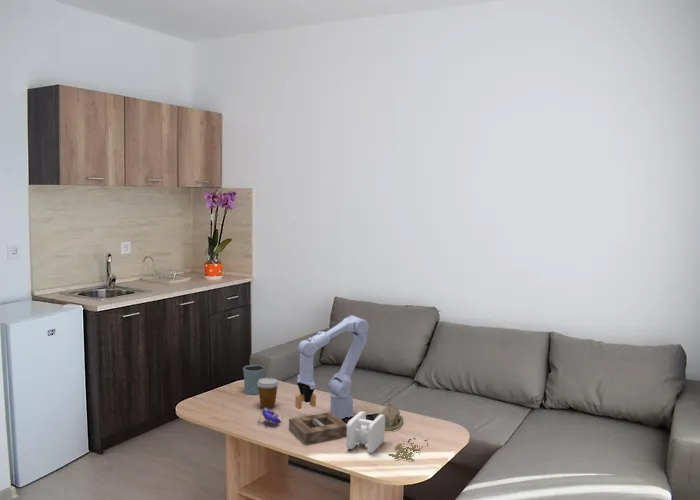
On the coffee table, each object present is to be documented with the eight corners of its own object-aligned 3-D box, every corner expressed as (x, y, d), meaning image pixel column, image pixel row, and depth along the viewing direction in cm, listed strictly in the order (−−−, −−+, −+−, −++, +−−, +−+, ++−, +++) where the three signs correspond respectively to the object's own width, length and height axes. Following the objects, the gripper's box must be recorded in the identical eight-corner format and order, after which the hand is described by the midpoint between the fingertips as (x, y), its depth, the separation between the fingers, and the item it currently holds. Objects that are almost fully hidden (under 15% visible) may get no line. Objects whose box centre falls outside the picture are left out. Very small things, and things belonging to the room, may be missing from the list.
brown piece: (330, 422, 259) (330, 411, 259) (348, 436, 245) (348, 425, 245) (288, 429, 250) (289, 419, 250) (305, 444, 236) (305, 433, 236)
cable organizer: (370, 456, 228) (371, 426, 226) (344, 451, 232) (345, 421, 231) (384, 441, 241) (385, 413, 240) (360, 436, 245) (361, 408, 244)
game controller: (289, 415, 256) (271, 416, 249) (282, 432, 257) (264, 434, 250) (275, 402, 262) (257, 403, 255) (269, 418, 264) (250, 420, 257)
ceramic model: (393, 434, 249) (394, 410, 248) (369, 428, 254) (369, 405, 253) (407, 423, 261) (408, 400, 260) (383, 417, 266) (384, 395, 265)
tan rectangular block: (312, 403, 261) (313, 392, 261) (315, 406, 258) (315, 394, 258) (295, 406, 257) (295, 395, 257) (298, 409, 255) (298, 397, 254)
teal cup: (240, 394, 290) (240, 369, 289) (247, 387, 300) (247, 363, 299) (260, 396, 288) (261, 371, 287) (267, 389, 298) (267, 365, 297)
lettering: (409, 434, 249) (409, 432, 249) (433, 439, 245) (433, 437, 245) (385, 458, 227) (385, 455, 227) (410, 464, 223) (410, 462, 222)
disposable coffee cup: (282, 405, 277) (282, 380, 276) (268, 412, 269) (269, 385, 268) (266, 401, 282) (266, 376, 281) (252, 407, 274) (252, 381, 273)
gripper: (291, 365, 261) (290, 396, 262) (304, 375, 248) (304, 407, 249) (306, 363, 264) (305, 394, 265) (320, 373, 251) (319, 405, 253)
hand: (305, 400), depth 258 cm, fingers closed on tan rectangular block, 3 cm apart
